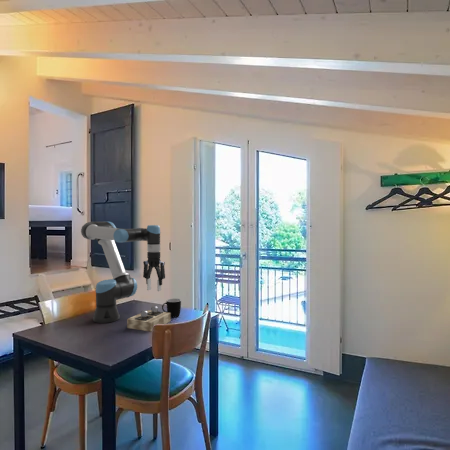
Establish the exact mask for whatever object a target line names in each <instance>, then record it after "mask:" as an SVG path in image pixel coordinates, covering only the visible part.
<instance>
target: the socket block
mask: <svg viewBox="0 0 450 450" xmlns="http://www.w3.org/2000/svg"><path fill="white" fill-rule="evenodd" d="M146 311H147V317H148V318H147V319H141V312H140V313H138V314H136V315H133V316H131V317H129V318H127V319H126V328H127V329H131V330H138V331H145V332H150V333H151V332H153V331H152V328H153V326H154V325H157V324H164V325H166V324H169V323H170V322H171V320H172V319H171V313H168V312H167V311H166V312H164V311H158V314H156V315H154V314H151V309H148V310H146Z"/></svg>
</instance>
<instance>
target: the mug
mask: <svg viewBox="0 0 450 450" xmlns="http://www.w3.org/2000/svg"><path fill="white" fill-rule="evenodd" d="M165 305H166V310H165V309H164V306H165ZM181 306H182V300H181V299H180V298H168V299H167V300H166V301H165V302H164V303H163V304H162V305H161V310H162V312H168V313H171V318H172V319H173V318H178V317H180V313H181Z"/></svg>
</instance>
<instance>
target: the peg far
mask: <svg viewBox="0 0 450 450" xmlns="http://www.w3.org/2000/svg"><path fill="white" fill-rule="evenodd" d="M150 310H151V314H154V315H156V314H158V306H157V305H156V306H155V305H152V306H151V309H150Z"/></svg>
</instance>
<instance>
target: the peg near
mask: <svg viewBox="0 0 450 450" xmlns="http://www.w3.org/2000/svg"><path fill="white" fill-rule="evenodd" d="M140 313H141V319H147V318H148V317H147V310H141V311H140Z"/></svg>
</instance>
